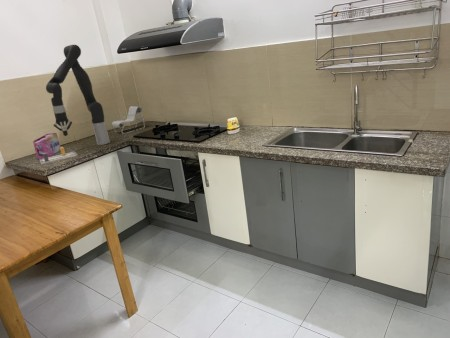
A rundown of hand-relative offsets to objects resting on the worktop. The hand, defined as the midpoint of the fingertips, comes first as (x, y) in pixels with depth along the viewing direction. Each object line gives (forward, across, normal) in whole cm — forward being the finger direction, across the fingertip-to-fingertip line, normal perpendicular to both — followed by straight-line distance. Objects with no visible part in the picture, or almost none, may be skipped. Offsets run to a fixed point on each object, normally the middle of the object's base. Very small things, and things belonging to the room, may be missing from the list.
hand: (65, 135), depth 254 cm
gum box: (+15, +13, -17) cm, 26 cm away
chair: (+14, -56, -39) cm, 70 cm away
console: (+14, +9, +3) cm, 17 cm away
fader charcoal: (+13, +17, +7) cm, 22 cm away
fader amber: (+13, +5, 0) cm, 14 cm away
